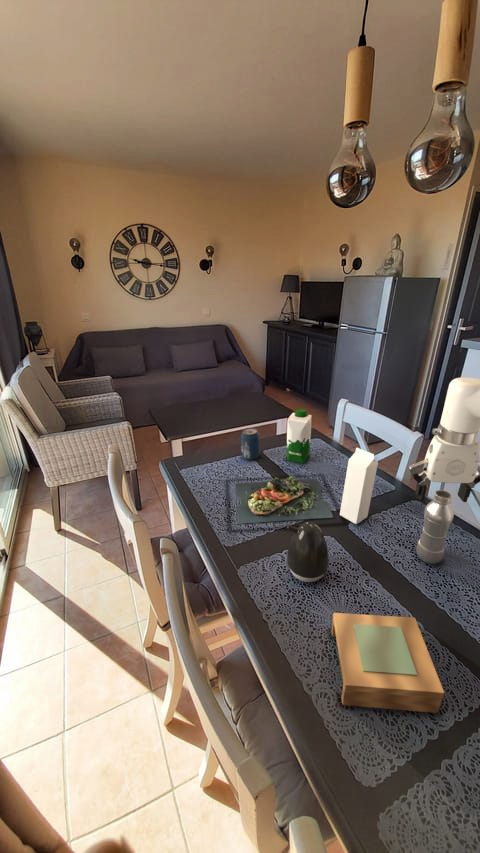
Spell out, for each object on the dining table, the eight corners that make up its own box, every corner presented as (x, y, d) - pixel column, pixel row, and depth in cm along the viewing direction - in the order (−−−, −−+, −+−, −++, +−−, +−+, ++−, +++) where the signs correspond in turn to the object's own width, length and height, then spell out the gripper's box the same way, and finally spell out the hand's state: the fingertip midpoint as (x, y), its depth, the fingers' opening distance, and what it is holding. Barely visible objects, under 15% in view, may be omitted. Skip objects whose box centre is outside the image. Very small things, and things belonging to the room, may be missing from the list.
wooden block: (410, 637, 74) (415, 616, 72) (437, 714, 62) (444, 692, 59) (331, 632, 76) (333, 611, 74) (342, 706, 63) (345, 684, 61)
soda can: (258, 453, 150) (257, 426, 145) (259, 461, 143) (259, 434, 138) (241, 454, 149) (240, 427, 144) (242, 462, 143) (241, 435, 138)
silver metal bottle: (442, 554, 95) (459, 490, 87) (441, 571, 90) (458, 505, 82) (416, 545, 98) (429, 483, 90) (412, 562, 93) (427, 497, 85)
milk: (356, 524, 106) (368, 457, 98) (339, 515, 111) (349, 449, 103) (367, 517, 110) (380, 452, 102) (350, 508, 114) (362, 444, 106)
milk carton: (311, 455, 147) (313, 409, 138) (305, 466, 139) (308, 418, 131) (290, 451, 150) (291, 407, 142) (283, 462, 142) (285, 415, 134)
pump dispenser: (286, 556, 96) (287, 509, 90) (326, 559, 95) (330, 512, 89) (284, 586, 87) (285, 537, 81) (328, 591, 86) (333, 541, 79)
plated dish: (230, 533, 105) (229, 513, 102) (226, 482, 131) (225, 464, 128) (347, 526, 107) (350, 505, 104) (320, 477, 133) (322, 459, 130)
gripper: (422, 440, 77) (408, 506, 84) (508, 442, 76) (486, 509, 83) (410, 426, 84) (398, 487, 91) (489, 427, 82) (470, 490, 89)
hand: (440, 497), depth 87 cm, fingers open, 9 cm apart
